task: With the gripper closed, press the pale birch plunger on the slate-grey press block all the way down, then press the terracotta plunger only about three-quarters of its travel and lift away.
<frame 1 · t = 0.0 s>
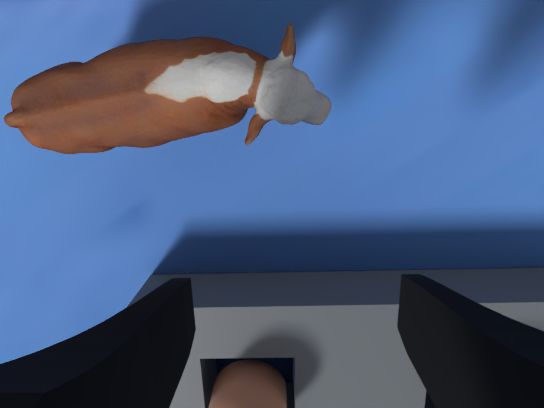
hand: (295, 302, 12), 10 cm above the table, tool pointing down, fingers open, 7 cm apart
bull figurine: (198, 98, 20), on the table
press block: (347, 349, 24), on the table
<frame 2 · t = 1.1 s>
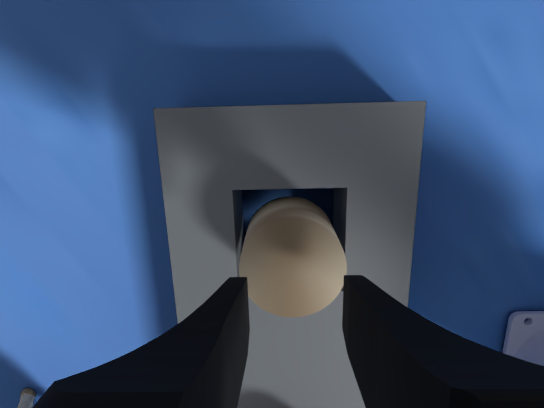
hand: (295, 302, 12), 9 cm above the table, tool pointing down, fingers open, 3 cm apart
birch plunger: (291, 252, 16), point 5 cm above the table, slide at 0.0 cm
press block: (289, 312, 23), on the table
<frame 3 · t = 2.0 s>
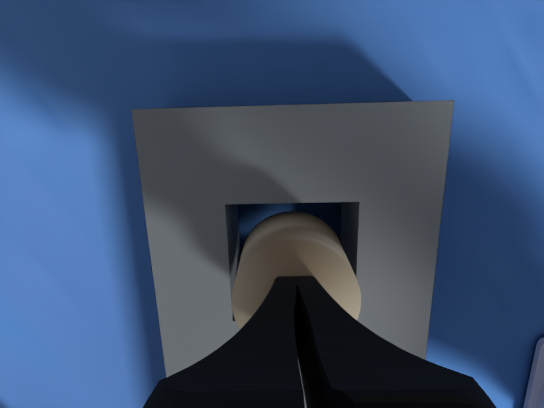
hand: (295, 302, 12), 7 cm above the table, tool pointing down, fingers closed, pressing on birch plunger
birch plunger: (293, 278, 14), point 5 cm above the table, slide at 0.0 cm, touching gripper
press block: (291, 336, 20), on the table
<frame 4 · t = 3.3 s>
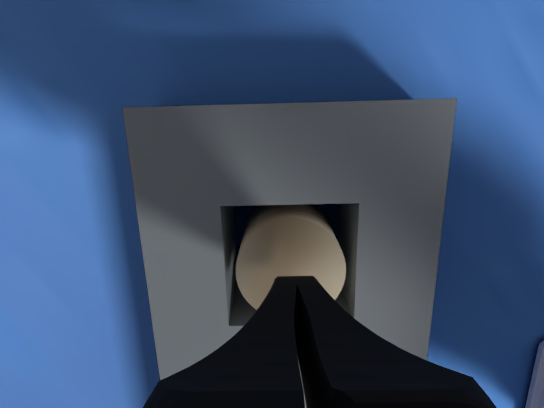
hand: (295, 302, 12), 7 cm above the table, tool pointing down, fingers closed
birch plunger: (289, 254, 16), point 3 cm above the table, slide at 2.6 cm
press block: (288, 339, 20), on the table
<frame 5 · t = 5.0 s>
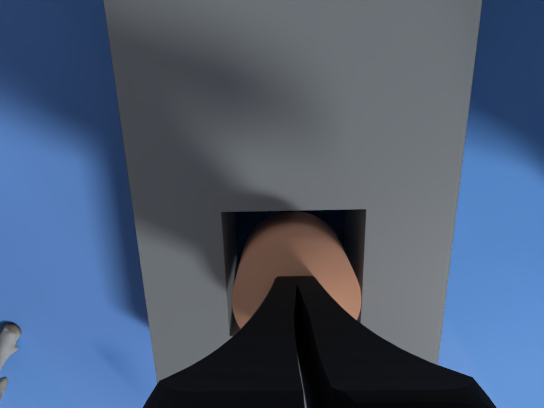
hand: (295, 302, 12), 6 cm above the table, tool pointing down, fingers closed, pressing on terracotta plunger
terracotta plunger: (294, 278, 14), point 4 cm above the table, slide at 1.1 cm, touching gripper
press block: (288, 104, 16), on the table
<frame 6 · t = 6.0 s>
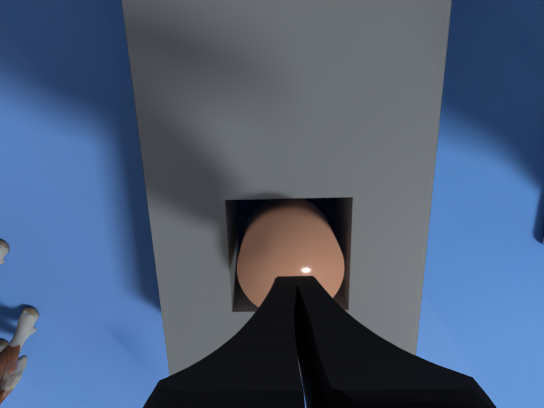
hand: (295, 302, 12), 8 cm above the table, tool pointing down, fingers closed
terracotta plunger: (289, 252, 16), point 3 cm above the table, slide at 1.8 cm
press block: (284, 105, 17), on the table
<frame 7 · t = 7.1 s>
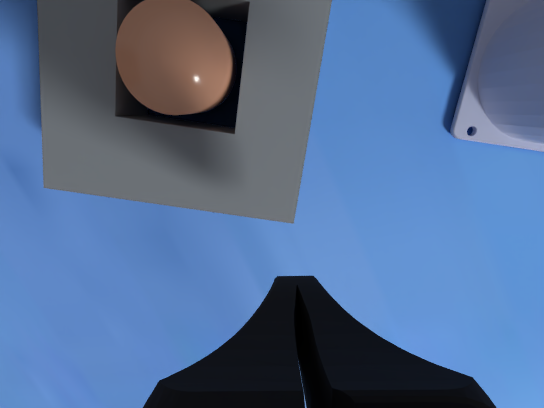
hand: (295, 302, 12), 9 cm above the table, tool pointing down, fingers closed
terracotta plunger: (182, 62, 15), point 3 cm above the table, slide at 1.8 cm
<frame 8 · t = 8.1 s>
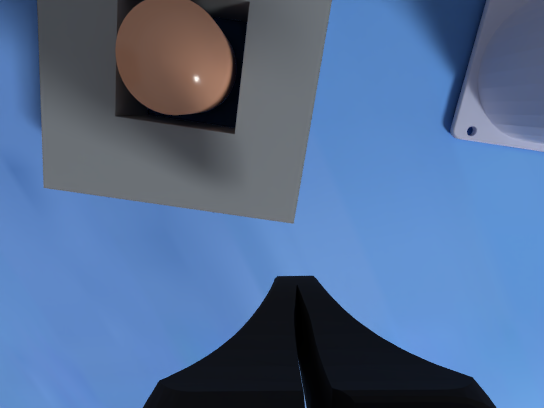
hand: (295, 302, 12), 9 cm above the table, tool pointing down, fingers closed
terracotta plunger: (182, 62, 15), point 3 cm above the table, slide at 1.8 cm
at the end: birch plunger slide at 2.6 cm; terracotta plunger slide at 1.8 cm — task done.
